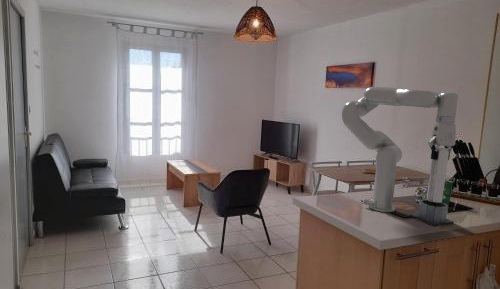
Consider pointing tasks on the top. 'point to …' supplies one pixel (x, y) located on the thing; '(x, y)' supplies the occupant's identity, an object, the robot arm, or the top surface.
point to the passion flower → (421, 193)
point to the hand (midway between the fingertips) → (439, 159)
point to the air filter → (438, 176)
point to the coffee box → (447, 192)
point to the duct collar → (432, 213)
